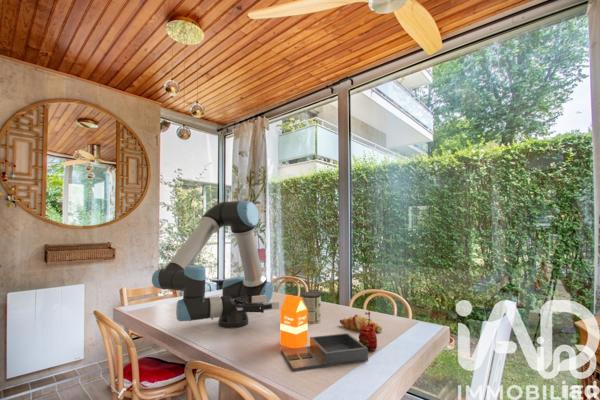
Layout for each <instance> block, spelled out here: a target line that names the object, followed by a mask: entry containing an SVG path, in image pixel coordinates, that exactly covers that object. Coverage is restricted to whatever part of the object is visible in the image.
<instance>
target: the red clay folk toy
mask: <svg viewBox="0 0 600 400" xmlns="http://www.w3.org/2000/svg"><path fill="white" fill-rule="evenodd" d="M364 314H365V315H368V318H367V319H368V320H369V321H370V319H371V318H370V317H371V310H368V312H367V311H366V312H364ZM377 336H378V335H377V334H376V332H375V331H374V329H373V327H371V326H370V322H368V325H367V326H365V325H363V326H362V329H361V331H359V334H358V339H359V340H358V341H359V342H360V343H362V344H363V345H364V346H366V347H367V348H368V352H374V350H376V349H377V346H378V338H377Z"/></svg>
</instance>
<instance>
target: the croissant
mask: <svg viewBox="0 0 600 400" xmlns="http://www.w3.org/2000/svg"><path fill="white" fill-rule="evenodd" d="M368 319H369V318H366V317H365V316H363V315H360V314H354V316H350V317H349V318H343V319H339V323H340V324H341V325H343V326H344V327H345V328H346V329H348V330H351V331H354V332H356V331H357V332H360V331H361V329H362V326H363V325H365V326H367V325H368V322H370V326H371V327H373V329H374V331H375V333H379V332H382V330H383V327H382V326H380V325H379V324H378V323H377V322H374V320H372V319H371V318H370V321H369V320H368Z"/></svg>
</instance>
